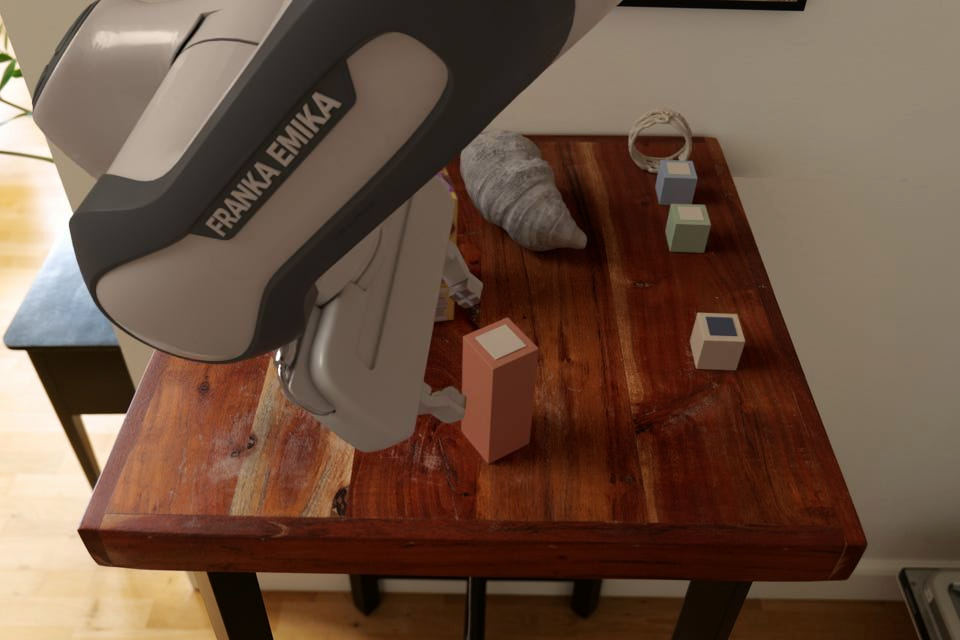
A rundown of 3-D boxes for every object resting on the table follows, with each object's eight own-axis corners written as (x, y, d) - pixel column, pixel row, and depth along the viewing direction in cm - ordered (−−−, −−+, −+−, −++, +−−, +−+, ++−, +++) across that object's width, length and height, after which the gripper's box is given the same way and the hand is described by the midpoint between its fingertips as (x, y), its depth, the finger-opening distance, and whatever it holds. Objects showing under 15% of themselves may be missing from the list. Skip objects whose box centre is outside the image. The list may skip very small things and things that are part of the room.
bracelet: (624, 157, 114) (633, 103, 109) (685, 163, 113) (697, 109, 108) (623, 173, 111) (632, 118, 106) (685, 180, 110) (698, 125, 105)
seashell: (585, 266, 96) (595, 192, 90) (455, 262, 96) (456, 187, 90) (576, 187, 108) (584, 116, 102) (460, 183, 108) (461, 112, 102)
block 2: (704, 253, 99) (711, 224, 96) (669, 251, 99) (676, 223, 96) (698, 232, 102) (705, 203, 99) (665, 231, 102) (671, 202, 99)
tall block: (529, 443, 77) (539, 347, 69) (488, 464, 75) (493, 368, 67) (501, 411, 80) (507, 315, 72) (461, 431, 78) (462, 335, 70)
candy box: (458, 320, 89) (459, 198, 79) (417, 326, 88) (413, 203, 78) (442, 268, 96) (441, 148, 85) (403, 272, 95) (398, 153, 85)
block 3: (736, 370, 85) (745, 340, 82) (695, 369, 85) (704, 339, 82) (728, 342, 88) (737, 313, 85) (689, 341, 88) (697, 311, 85)
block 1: (691, 206, 106) (697, 177, 103) (659, 204, 106) (664, 176, 103) (686, 187, 109) (692, 160, 106) (655, 186, 109) (660, 158, 106)
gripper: (304, 367, 42) (485, 480, 50) (379, 101, 54) (516, 225, 62) (229, 401, 46) (410, 502, 54) (316, 145, 58) (452, 257, 66)
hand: (467, 351), depth 58 cm, fingers open, 8 cm apart
